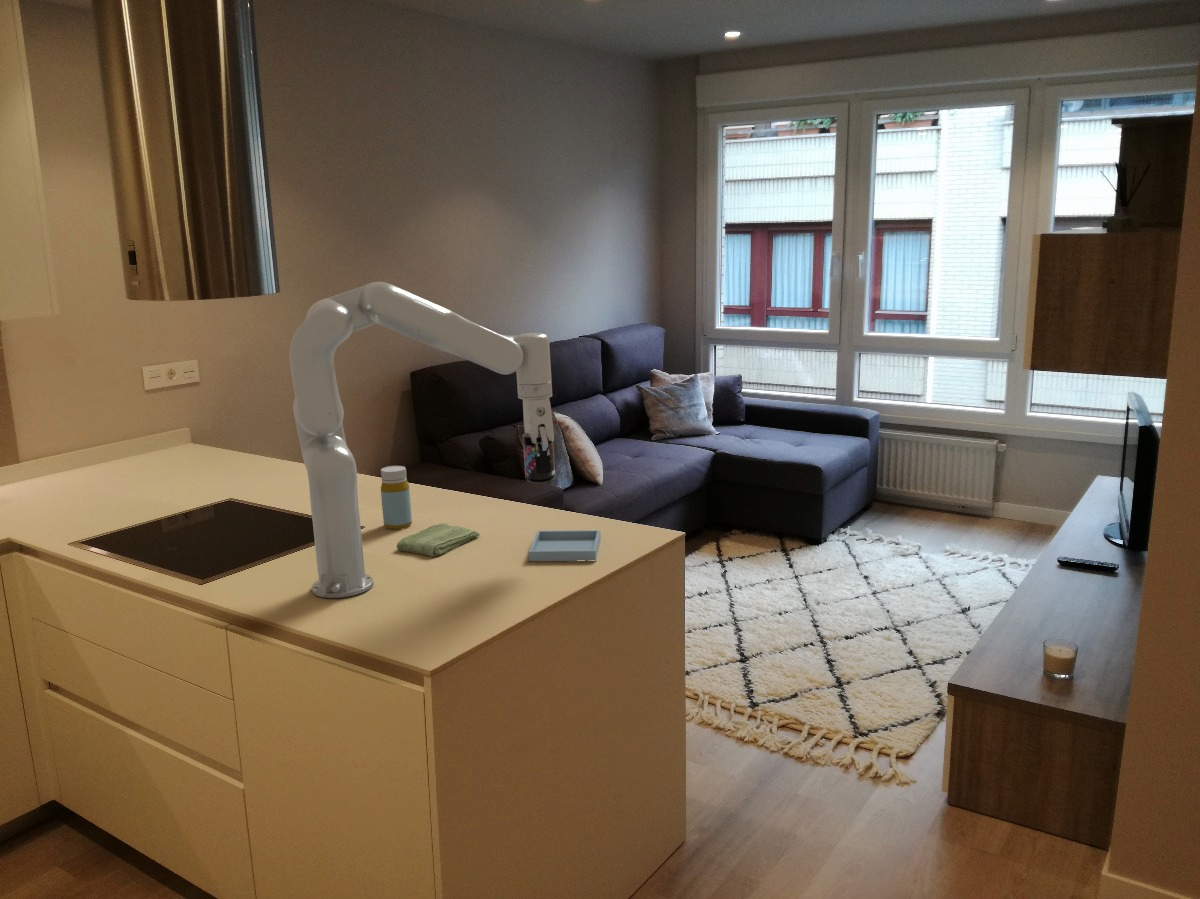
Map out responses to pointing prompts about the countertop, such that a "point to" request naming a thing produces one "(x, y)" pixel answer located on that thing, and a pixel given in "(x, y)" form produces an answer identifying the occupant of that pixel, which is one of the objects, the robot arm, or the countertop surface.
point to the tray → (565, 545)
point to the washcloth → (436, 539)
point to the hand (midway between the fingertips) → (539, 468)
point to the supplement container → (530, 461)
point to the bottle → (395, 497)
